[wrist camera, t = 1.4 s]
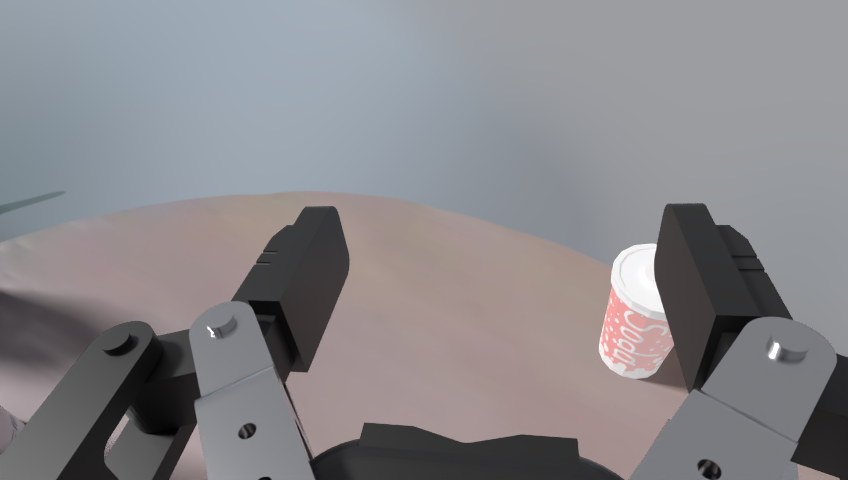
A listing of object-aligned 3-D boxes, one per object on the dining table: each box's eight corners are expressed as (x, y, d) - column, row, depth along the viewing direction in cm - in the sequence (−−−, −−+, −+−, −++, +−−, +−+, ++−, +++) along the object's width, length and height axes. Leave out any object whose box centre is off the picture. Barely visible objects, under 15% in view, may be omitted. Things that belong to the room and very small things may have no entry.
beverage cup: (572, 348, 40) (608, 217, 30) (620, 308, 42) (668, 174, 33) (639, 404, 36) (705, 276, 26) (688, 356, 39) (764, 223, 29)
